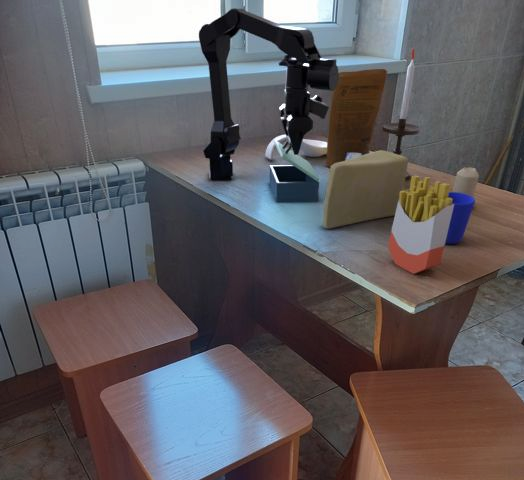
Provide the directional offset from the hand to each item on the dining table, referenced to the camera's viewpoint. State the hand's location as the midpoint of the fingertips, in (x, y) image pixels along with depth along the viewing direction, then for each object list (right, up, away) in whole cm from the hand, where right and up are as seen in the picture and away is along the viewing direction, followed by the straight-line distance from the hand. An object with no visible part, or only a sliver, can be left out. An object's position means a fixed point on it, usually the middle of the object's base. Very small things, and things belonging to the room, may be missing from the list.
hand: (293, 150), depth 140 cm
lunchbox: (0, -9, +7) cm, 11 cm away
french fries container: (+23, -37, -31) cm, 54 cm away
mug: (+33, -29, -20) cm, 48 cm away
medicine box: (+18, -6, +12) cm, 22 cm away
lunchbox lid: (+1, -2, +2) cm, 3 cm away
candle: (+45, -15, 0) cm, 48 cm away
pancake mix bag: (+20, +7, +30) cm, 37 cm away
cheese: (+15, -21, -10) cm, 28 cm away
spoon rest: (+4, +12, +37) cm, 40 cm away
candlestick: (+33, 0, +20) cm, 38 cm away
